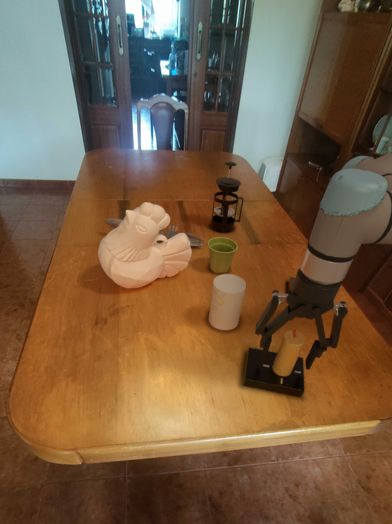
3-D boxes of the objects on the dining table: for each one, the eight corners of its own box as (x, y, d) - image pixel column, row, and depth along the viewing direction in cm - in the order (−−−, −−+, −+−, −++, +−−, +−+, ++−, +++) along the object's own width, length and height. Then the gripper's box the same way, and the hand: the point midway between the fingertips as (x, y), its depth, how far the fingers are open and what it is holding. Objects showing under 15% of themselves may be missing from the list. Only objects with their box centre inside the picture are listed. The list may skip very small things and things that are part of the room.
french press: (209, 232, 121) (215, 165, 105) (208, 221, 128) (214, 157, 111) (239, 234, 122) (251, 168, 105) (237, 223, 128) (247, 159, 112)
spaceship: (109, 208, 112) (102, 208, 104) (206, 230, 113) (205, 231, 106) (107, 231, 115) (100, 233, 108) (201, 252, 116) (200, 255, 109)
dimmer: (300, 364, 77) (303, 357, 75) (301, 397, 70) (304, 390, 68) (247, 354, 78) (249, 346, 76) (242, 385, 71) (245, 378, 69)
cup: (207, 310, 89) (211, 273, 80) (235, 310, 90) (243, 274, 81) (210, 330, 83) (215, 293, 74) (240, 330, 84) (249, 293, 75)
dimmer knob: (291, 378, 70) (306, 346, 63) (271, 374, 71) (284, 341, 63) (291, 363, 73) (305, 331, 66) (272, 360, 74) (284, 327, 66)
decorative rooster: (84, 275, 85) (135, 212, 69) (94, 237, 93) (141, 173, 78) (160, 314, 99) (216, 269, 83) (162, 277, 107) (213, 231, 92)
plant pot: (237, 266, 106) (242, 242, 100) (227, 280, 100) (231, 255, 93) (211, 258, 108) (214, 234, 102) (200, 271, 102) (202, 246, 96)
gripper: (382, 271, 55) (333, 357, 72) (258, 252, 57) (238, 340, 74) (392, 297, 50) (337, 383, 67) (256, 274, 52) (234, 364, 68)
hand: (285, 360), depth 70 cm, fingers open, 9 cm apart
